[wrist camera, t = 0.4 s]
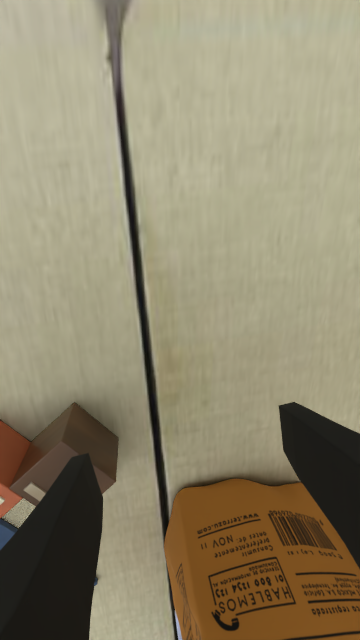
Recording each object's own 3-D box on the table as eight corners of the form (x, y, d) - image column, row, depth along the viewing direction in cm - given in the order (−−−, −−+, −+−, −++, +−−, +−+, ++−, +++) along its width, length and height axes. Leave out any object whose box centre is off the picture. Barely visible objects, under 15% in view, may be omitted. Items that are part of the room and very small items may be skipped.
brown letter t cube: (119, 438, 22) (116, 483, 18) (77, 475, 22) (65, 528, 18) (74, 401, 21) (60, 441, 17) (30, 441, 21) (7, 490, 17)
